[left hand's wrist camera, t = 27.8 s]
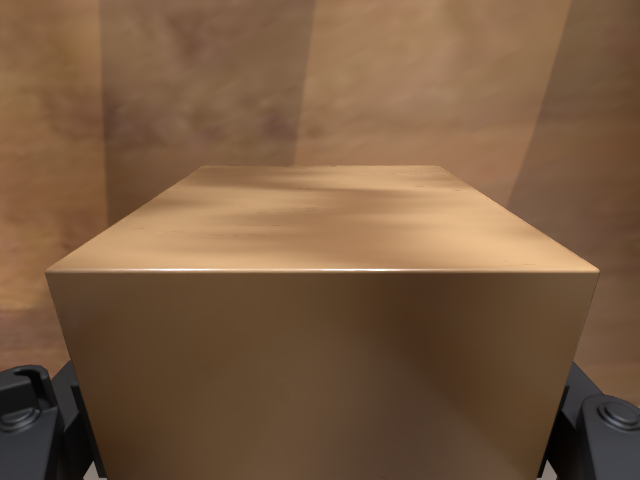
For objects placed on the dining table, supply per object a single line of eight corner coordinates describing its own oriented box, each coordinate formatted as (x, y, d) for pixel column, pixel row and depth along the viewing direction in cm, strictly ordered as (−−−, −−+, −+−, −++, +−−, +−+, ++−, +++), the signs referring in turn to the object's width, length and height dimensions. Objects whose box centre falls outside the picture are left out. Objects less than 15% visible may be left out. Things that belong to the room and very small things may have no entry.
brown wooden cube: (224, 358, 17) (140, 594, 9) (201, 165, 14) (41, 270, 6) (416, 358, 17) (502, 594, 9) (439, 165, 14) (602, 269, 6)
